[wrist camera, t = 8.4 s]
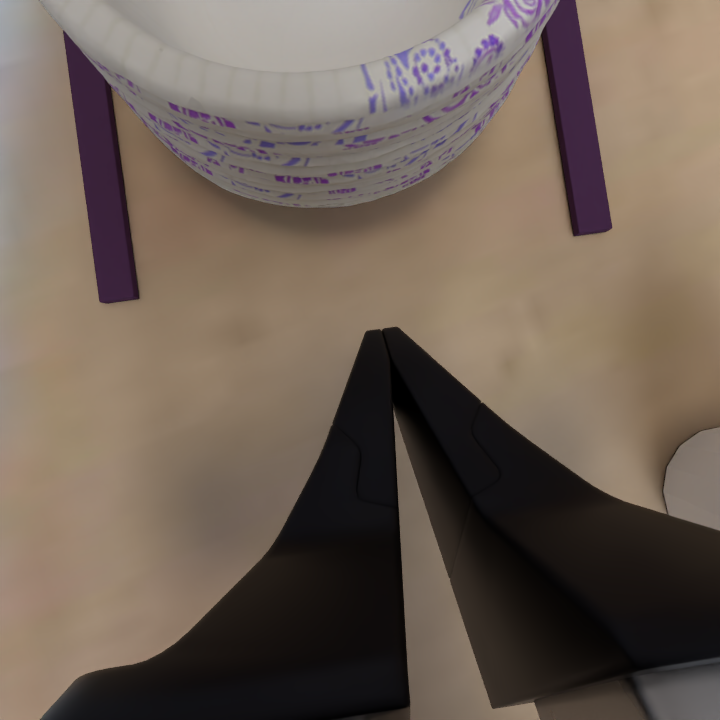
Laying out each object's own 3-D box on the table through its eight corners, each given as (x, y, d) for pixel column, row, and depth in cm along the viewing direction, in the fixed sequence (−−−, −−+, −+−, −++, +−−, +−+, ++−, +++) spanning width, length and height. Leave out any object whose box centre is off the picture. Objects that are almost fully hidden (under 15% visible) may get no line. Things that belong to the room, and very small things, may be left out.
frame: (606, 231, 16) (612, 228, 15) (105, 303, 16) (99, 302, 15) (540, -176, 16) (545, -189, 16) (49, -113, 16) (41, -125, 16)
